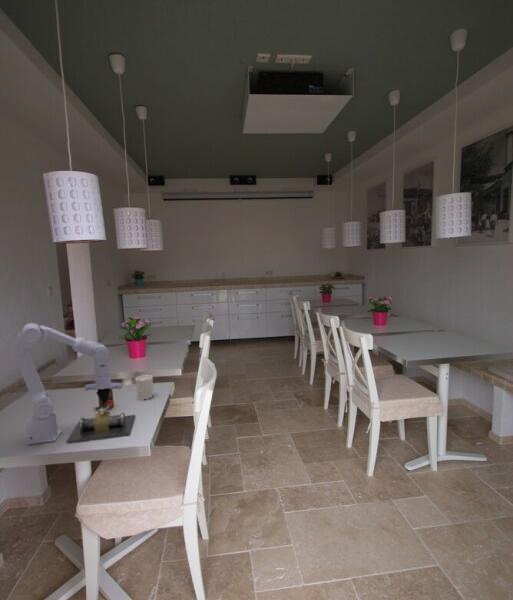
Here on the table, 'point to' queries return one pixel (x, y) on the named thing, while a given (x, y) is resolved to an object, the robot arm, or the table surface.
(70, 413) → the table surface
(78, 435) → the valve body
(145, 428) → the table surface
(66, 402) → the table surface
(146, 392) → the white cup
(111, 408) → the condiment
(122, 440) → the table surface
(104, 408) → the valve lever
